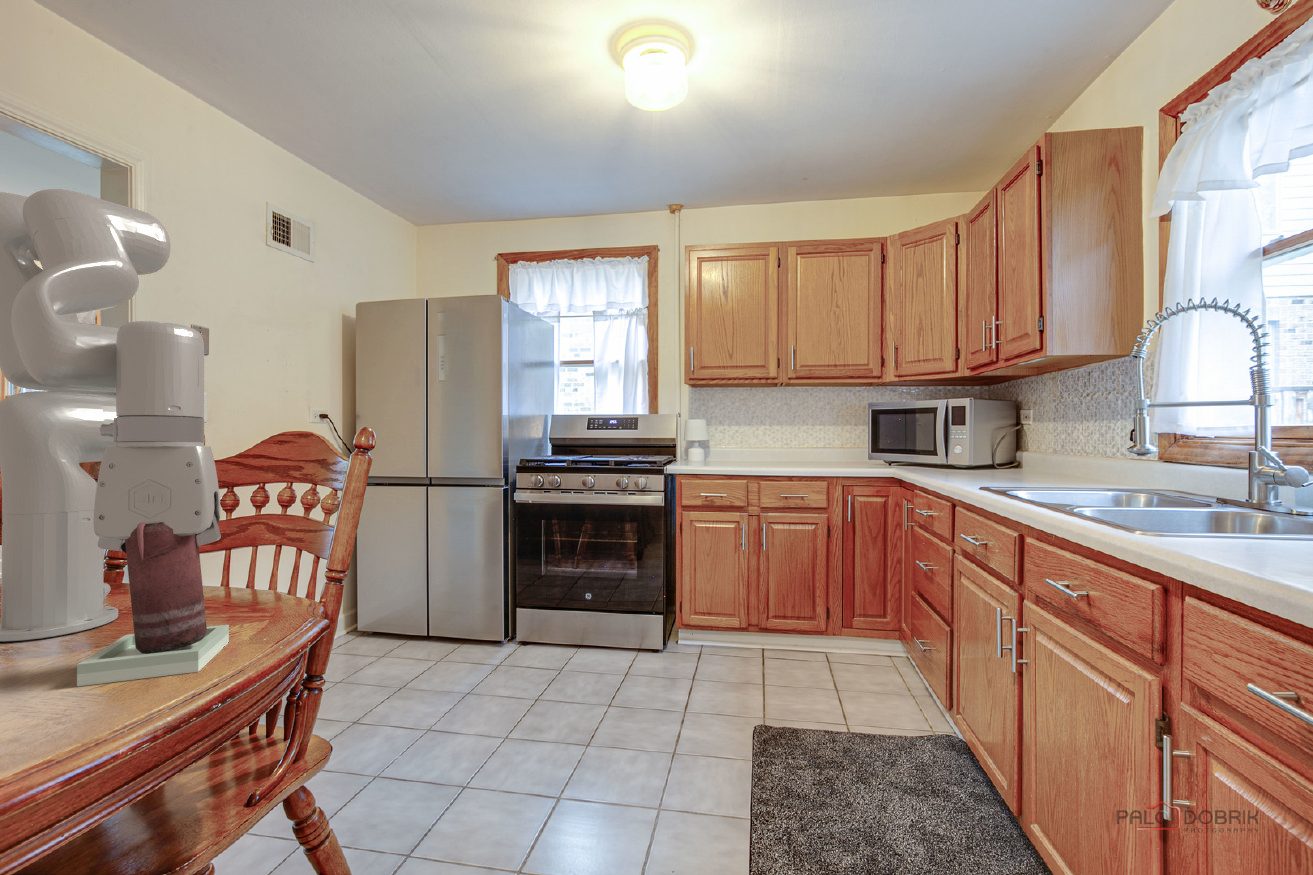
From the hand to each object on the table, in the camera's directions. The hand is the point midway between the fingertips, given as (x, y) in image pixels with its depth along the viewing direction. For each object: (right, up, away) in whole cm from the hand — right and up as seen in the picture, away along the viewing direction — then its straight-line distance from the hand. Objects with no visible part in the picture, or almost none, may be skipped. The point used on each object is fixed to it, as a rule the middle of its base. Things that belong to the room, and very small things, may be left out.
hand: (161, 598), depth 65 cm
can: (+1, -5, 0) cm, 5 cm away
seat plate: (0, -7, 0) cm, 7 cm away
